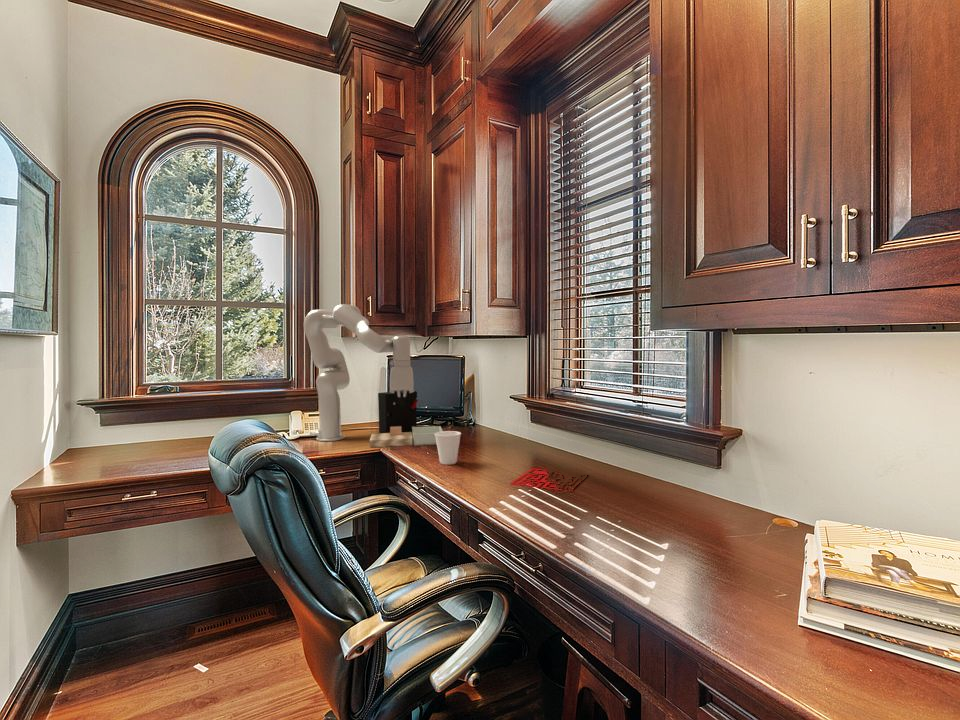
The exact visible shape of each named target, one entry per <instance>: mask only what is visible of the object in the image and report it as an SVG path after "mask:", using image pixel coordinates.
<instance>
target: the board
mask: <svg viewBox="0 0 960 720" xmlns="http://www.w3.org/2000/svg"><path fill="white" fill-rule="evenodd" d="M403 446H409V447H410V446H414V444H413V437H412V432H402V435H390V433H379V432H378V433H371V435H370V438H369V448H383V447H385V448H386V447H403Z"/></svg>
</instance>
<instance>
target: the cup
mask: <svg viewBox="0 0 960 720" xmlns="http://www.w3.org/2000/svg"><path fill="white" fill-rule="evenodd" d="M434 435H435V438H436V443H437V445H436V448H437V453H438V460H439V463H440V464H441V465H444V466H445V465H446V466H448V465H449V466H450V465H455V464H456V463H457V462H458V454H459V448H460V441H461V435H462V433H461V431H456V430H455V431H454V430H443V431H441V432H437V433H435V434H434Z"/></svg>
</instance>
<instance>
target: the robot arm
mask: <svg viewBox="0 0 960 720" xmlns="http://www.w3.org/2000/svg"><path fill="white" fill-rule="evenodd" d="M361 312H362V311H361V310H360V308H358V307H357V306H356V305H353V304H346V303H343V304H342V303H341V304H338V305H336V306H335V307H334V308H333V310H332V309H331V310H330V309H312V310H310V311H309V312H308V313H307V314H306V316H305V318H304V321H303V330H304V333H305V336H306V340H307V341H308V345H309V346H308V347H309V350H310V354H311V357H312V361H313V364H314V366H315V367H316V368H317V369H321V370H322V369H323V370H324V369H325V371H323V372H320V373H319V374H318V375H317V377H316V380H315V386H316V391H317V398H318V412H319V413H318V417H319V420H318V422H319V423H318V424H319V429H317V430H310V431H309V436H316V440H317V441H319V442H335V441H340V440H344V439H345V435H344V434H343V433H342V424H341V421H342V419H341V397H340V394H339V392H338V391H340V390H344V389H346V388H347V387H348V386H350V380H351V379H350V373H349V369H348V365H347V362H346V358H345V356H344V354H343V352H342V351H341V350H340V349H338V348H337V347H330V345H329V340H328V337H327V335H326V334H325V332H324V331H323V329H337V328H340V327H345V328H346V329H347V330H349V331H351V332H352V333H353V334H355V335H356V337H357V338H358V340H359V341H360V343H361V344H362V345H364V346H365V347H367V348H368V349H370V350H371V351H372V352H375V353H379V354H382V353H383V354H384V353H392V360H391V361H389V366H390V365H391V366H392V367H391V369H390V373H389V374H390V375H389V391H388V392H390V393H395V394H396V395H397V396H398V404H400V406H404V404H405V397H406V396H407V395H408V394H409V393H412V392H414V391H415V388H414V385H415V384H414V383H415V382H414V371H413V367H412V366H411V338H410V337H409V336H408V335H390V334H389V335H386V334H385V335H384V334H383V335H382V334H381V335H380V334H379V333H377V332H375V331H374V330H373V329H371V328H370V327H369V325H370V321H369V319H367V318H366V317H365V316H363V315H362V313H361ZM326 369H328V370H326ZM407 390H408V391H407ZM400 391H404V393H403V395H402V397H401V395H400Z"/></svg>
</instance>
